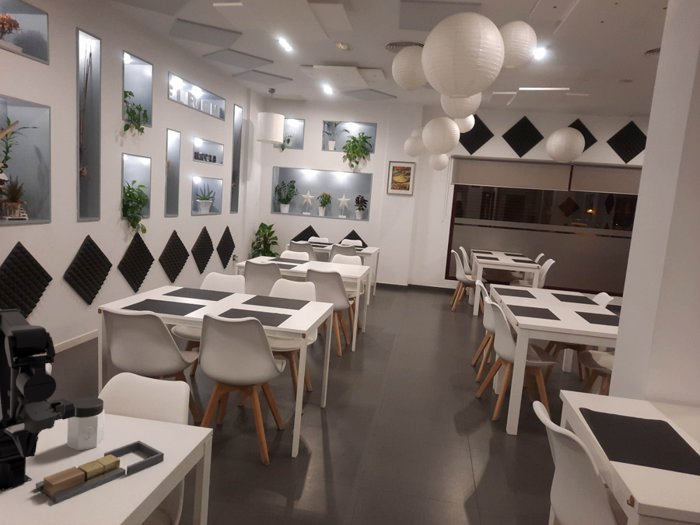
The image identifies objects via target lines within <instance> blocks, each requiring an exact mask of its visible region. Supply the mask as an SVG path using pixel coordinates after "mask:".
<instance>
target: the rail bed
mask: <svg viewBox="0 0 700 525" xmlns="http://www.w3.org/2000/svg"><path fill="white" fill-rule="evenodd" d="M126 472H127V469H125V468H124V467H120V468H119V469H116V470H114V471H111V472H109V473H106V474H104V475H101V476H99V477H96V478H94V479H91V480H89V481H86V482H84V483H81V484H79V485H76V486H74V487H71V488H69V489H66V490H64V491H61V492H59V493H56V494H54V495H52V497H50V496H49V495H48V494H46V493H45V492H44V491H43V481H44V480H41V481H39V482H36V483H35V489H36V490H37V491H38V492H40V493H41V494H43V496H45V497H46V498H48V499H49V500H51V502H53V503H54V504H58V503H61V502H63V501H66V500H68V499H70V498H72V497H75V496H77V495H80V494H82V493H85V492H87V491H89V490H93V489H95V488H98V487H99V486H101V485H104V484H106V483H109V482H111V481H113V480H116V479H119V478H121V477H123V476H125V475H126Z"/></svg>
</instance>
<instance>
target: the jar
mask: <svg viewBox="0 0 700 525" xmlns="http://www.w3.org/2000/svg"><path fill="white" fill-rule="evenodd" d="M71 403H73V404H74V405H75V406H76V416H75V417H71V418H68V419H67V435H66V436H67V437H66V439H67V440H66V446H67V447H69V448H72V449H74V450H76V451H82V450H88V449H93V448H98V446H99V445H101V443H102V442H103V441H104V438H105V437H104V436H105V431H104V430H105V418H106V417H105V416H106V412H105V411H106V410H105V409H104V400H103V399H102V398H99V397H94V396H93V397H92V396H91V397H82V398H78V399H75V400H73V401H71Z"/></svg>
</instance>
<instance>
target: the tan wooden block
mask: <svg viewBox="0 0 700 525" xmlns="http://www.w3.org/2000/svg"><path fill="white" fill-rule="evenodd" d="M95 461H97V462H98V463H100V464H102V465H103V466H104V473H103V475H104V474H106V473H109V472H111V471H114V470H116V469H119V468H121V467H120V466H121V464H120V463H121V460H120V458H119V457H117V458H116V457H115V456H113V455H111V454H110V455H107V456H105V457H104V456H103V457H100V458H97V459H95Z"/></svg>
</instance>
